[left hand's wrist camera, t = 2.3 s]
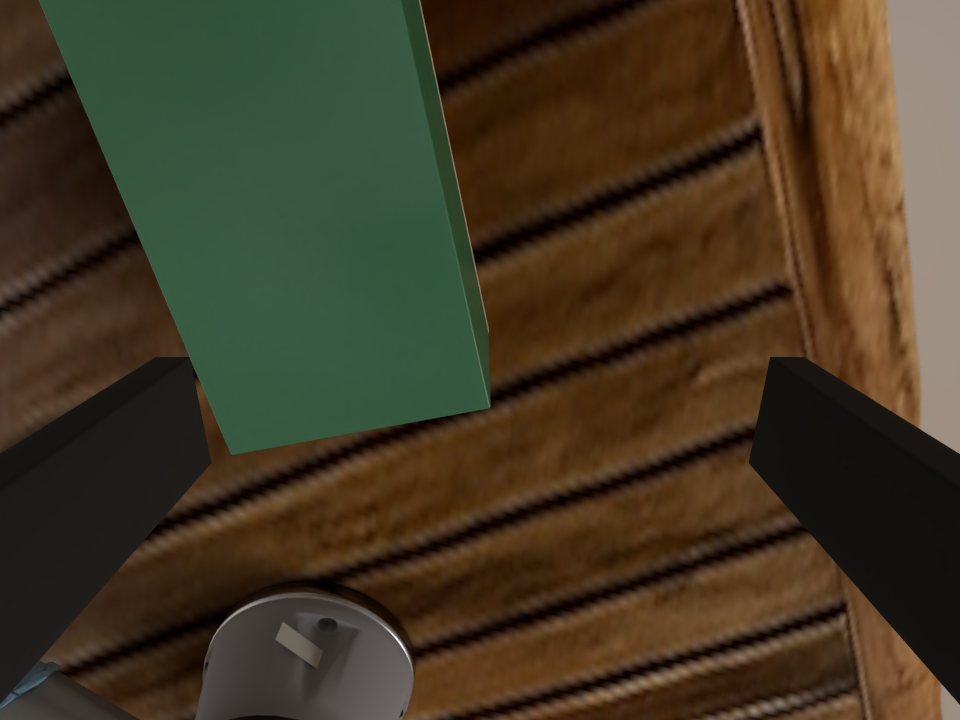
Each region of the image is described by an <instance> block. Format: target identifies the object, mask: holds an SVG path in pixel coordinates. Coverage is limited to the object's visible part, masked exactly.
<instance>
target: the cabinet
mask: <svg viewBox="0 0 960 720" xmlns="http://www.w3.org/2000/svg"><path fill="white" fill-rule="evenodd" d="M39 3H40V5H41V7H42V10H43V12H44V14H45V17H46V19H47V22H48V24H49V26H50V29H51V31H52V33H53V36H54V38H55V40H56V43H57V45H58V48H59V50H60V52H61V55H62V57H63V59H64V62H65V64H66V66H67V69H68V71H69V73H70V76H71V78H72V81H73V83H74V85H75V88H76V90H77V92H78V95H79V97H80V99H81V102H82V104H83V107H84V109H85V111H86V114H87V116H88V118H89V121H90V123H91V125H92V128H93V130H94V132H95V135H96V137H97V140H98V142H99V144H100V147H101V149H102V151H103V154H104V156H105V158H106V161H107V163H108V166H109V168H110V170H111V173H112V175H113V177H114V180H115V182H116V184H117V187H118V189H119V191H120V194H121V196H122V199H123V201H124V203H125V206H126V208H127V210H128V213H129V215H130V217H131V220H132V222H133V224H134V227H135V229H136V232H137V234H138V236H139V239H140V241H141V243H142V246H143V248H144V250H145V253H146V255H147V258H148V260H149V262H150V265H151V267H152V269H153V272H154V274H155V276H156V279H157V281H158V283H159V286H160V288H161V291H162V293H163V295H164V298H165V300H166V302H167V305H168V307H169V309H170V312H171V314H172V317H173V319H174V321H175V324H176V326H177V328H178V331H179V333H180V335H181V338H182V340H183V342H184V345H185V347H186V350H187V352H188V354H189V357H190V359H191V361H192V364H193V366H194V368H195V371H196V373H197V376H198V378H199V380H200V383H201V385H202V387H203V390H204V392H205V394H206V397H207V399H208V401H209V404H210V406H211V409H212V411H213V413H214V416H215V418H216V420H217V423H218V425H219V427H220V430H221V432H222V435H223V437H224V439H225V442H226V444H227V446H228V449H229V451H230V453H231V455H235V454H240V453H246V452H251V451H257V450H262V449H268V448H273V447H279V446H284V445H290V444H295V443H301V442H306V441H312V440H317V439H323V438H328V437H334V436H339V435H345V434H350V433H355V432H361V431H366V430H372V429H377V428H383V427H388V426H394V425H399V424H405V423H410V422H416V421H421V420H427V419H432V418H438V417H443V416H449V415H454V414H460V413H465V412H471V411H476V410H482V409H487V408H490V406H491V405H490V373H489V340H488V333H489V328H488V323H487V319H486V314H485V309H484V304H483V299H482V295H481V290H480V285H479V280H478V276H477V271H476V266H475V261H474V256H473V252H472V247H471V242H470V237H469V232H468V228H467V223H466V218H465V213H464V208H463V204H462V199H461V194H460V189H459V184H458V180H457V175H456V170H455V165H454V160H453V156H452V151H451V146H450V141H449V137H448V132H447V127H446V122H445V117H444V113H443V108H442V103H441V98H440V93H439V89H438V84H437V79H436V74H435V69H434V65H433V60H432V55H431V50H430V45H429V41H428V36H427V31H426V26H425V21H424V17H423V12H422V7H421V2H420V0H39Z"/></svg>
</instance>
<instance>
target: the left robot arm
mask: <svg viewBox="0 0 960 720" xmlns="http://www.w3.org/2000/svg"><path fill="white" fill-rule="evenodd" d="M210 464H211V459H210V454H209V449H208V444H207V440H206V435H205V430H204V425H203V420H202V415H201V410H200V405H199V400H198V395H197V390H196V386H195V381H194V376H193V371H192V366H191V361H190V357H155V358H154V359H152V360H151V361H149V362H147V363H146V364H144V365H143V366H141V367H139V368H138V369H136V370H134V371H133V372H131V373H130V374H128V375H126V376H125V377H123V378H122V379H120V380H118V381H117V382H115V383H114V384H112V385H110V386H109V387H107V388H106V389H104V390H102V391H101V392H99V393H98V394H96V395H94V396H93V397H91V398H90V399H88V400H86V401H85V402H83V403H82V404H80V405H78V406H77V407H75V408H73V409H72V410H70V411H69V412H67V413H65V414H64V415H62V416H61V417H59V418H57V419H56V420H54V421H53V422H51V423H49V424H48V425H46V426H45V427H43V428H41V429H40V430H38V431H37V432H35V433H33V434H32V435H30V436H29V437H27V438H25V439H24V440H22V441H21V442H19V443H17V444H16V445H14V446H12V447H11V448H9V449H8V450H6V451H4V452H3V453H1V454H0V720H140V719H138V718H136V717H134V716H133V715H131V714H129V713H128V712H126V711H124V710H123V709H121V708H119V707H117V706H116V705H114V704H112V703H111V702H109V701H107V700H106V699H104V698H102V697H101V696H99V695H97V694H95V693H94V692H92V691H90V690H89V689H87V688H85V687H84V686H82V685H80V684H79V683H77V682H75V681H73V680H72V679H70V678H68V677H67V676H65V675H63V674H62V673H60V672H58V671H57V670H58V669H59V668H60V666H59V665H57V664H56V663H54V662H48V663H43V662H41V661H39V660H40V658H41V657H42V656H43V655H44V654H45V653H46V652H47V650H48V649H49V648H50V647H51V646H52V645H53V644H54V642H55V641H56V640H57V639H58V638H59V637H60V636H61V634H62V633H63V632H64V631H65V630H66V629H67V628H68V626H69V625H70V624H71V623H72V622H73V621H74V620H75V618H76V617H77V616H78V615H79V614H80V613H81V612H82V610H83V609H84V608H85V607H86V606H87V605H88V604H89V602H90V601H91V600H92V599H93V598H94V597H95V595H96V594H97V593H98V592H99V591H100V590H101V589H102V587H103V586H104V585H105V584H106V583H107V582H108V581H109V579H110V578H111V577H112V576H113V575H114V574H115V573H116V571H117V570H118V569H119V568H120V567H121V566H122V565H123V563H124V562H125V561H126V560H127V559H128V558H129V557H130V555H131V554H132V553H133V552H134V551H135V550H136V549H137V547H138V546H139V545H140V544H141V543H142V542H143V541H144V539H145V538H146V537H147V536H148V535H149V534H150V533H151V531H152V530H153V529H154V528H155V527H156V526H157V525H158V523H159V522H160V521H161V520H162V519H163V518H164V516H165V515H166V514H167V513H168V512H169V511H170V510H171V508H172V507H173V506H174V505H175V504H176V503H177V502H178V500H179V499H180V498H181V497H182V496H183V495H184V494H185V492H186V491H187V490H188V489H189V488H190V487H191V486H192V484H193V483H194V482H195V481H196V480H197V479H198V478H199V476H200V475H201V474H202V473H203V472H204V471H205V470H206V468H207V467H208V466H209V465H210ZM749 464H750V465H751V466H752V467H753V468H754V470H755V471H756V472H757V473H758V474H759V475H760V476H761V478H762V479H763V480H764V481H765V482H766V483H767V484H768V486H769V487H770V488H771V489H772V490H773V491H774V492H775V494H776V495H777V496H778V497H779V498H780V499H781V500H782V502H783V503H784V504H785V505H786V506H787V507H788V508H789V510H790V511H791V512H792V513H793V514H794V515H795V516H796V518H797V519H798V520H799V521H800V522H801V523H802V525H803V526H804V527H805V528H806V529H807V530H808V531H809V533H810V534H811V535H812V536H813V537H814V538H815V539H816V541H817V542H818V543H819V544H820V545H821V546H822V547H823V549H824V550H825V551H826V552H827V553H828V554H829V555H830V557H831V558H832V559H833V560H834V561H835V562H836V563H837V565H838V566H839V567H840V568H841V569H842V570H843V571H844V573H845V574H846V575H847V576H848V577H849V578H850V579H851V581H852V582H853V583H854V584H855V585H856V586H857V587H858V589H859V590H860V591H861V592H862V593H863V594H864V596H865V597H866V598H867V599H868V600H869V601H870V602H871V604H872V605H873V606H874V607H875V608H876V609H877V610H878V612H879V613H880V614H881V615H882V616H883V617H884V618H885V620H886V621H887V622H888V623H889V624H890V625H891V626H892V628H893V629H894V630H895V631H896V632H897V633H898V634H899V636H900V637H901V638H902V639H903V640H904V641H905V642H906V644H907V645H908V646H909V647H910V648H911V649H912V650H913V652H914V653H915V654H916V655H917V656H918V657H919V658H920V660H921V661H922V662H923V663H924V664H925V665H926V666H927V668H928V669H929V670H930V671H931V672H932V673H933V675H934V676H935V677H936V678H937V679H938V680H939V681H940V683H941V684H942V685H943V686H944V687H945V688H946V689H947V691H948V692H949V693H950V694H951V695H952V696H953V697H954V698H955V700H956V701H957V702H958V703H959V704H960V454H959V453H957V452H955V451H954V450H952V449H951V448H949V447H948V446H946V445H944V444H943V443H941V442H939V441H938V440H936V439H935V438H933V437H931V436H930V435H928V434H927V433H925V432H923V431H922V430H920V429H919V428H917V427H915V426H914V425H912V424H911V423H909V422H907V421H906V420H904V419H903V418H901V417H899V416H898V415H896V414H895V413H893V412H891V411H890V410H888V409H887V408H885V407H883V406H882V405H880V404H878V403H877V402H875V401H874V400H872V399H870V398H869V397H867V396H866V395H864V394H862V393H861V392H859V391H858V390H856V389H854V388H853V387H851V386H850V385H848V384H846V383H845V382H843V381H842V380H840V379H838V378H837V377H835V376H834V375H832V374H830V373H829V372H827V371H826V370H824V369H822V368H821V367H819V366H817V365H816V364H814V363H813V362H811V361H809V360H808V359H806V358H805V357H770V361H769V366H768V371H767V376H766V381H765V386H764V390H763V395H762V400H761V405H760V410H759V415H758V420H757V425H756V430H755V435H754V440H753V444H752V449H751V454H750V459H749ZM415 667H416V661H415V653H414V649H413V646H412V643H411V641H410V639H409V636H408V635H407V633H406V631H405V630H404V628H403V627H402V626H401V624H400V623H399V622H398V621H397V620H396V619H395V618H394V617H393V616H392V615H391V614H390V613H389V612H388V611H387V610H386V609H384V608H383V607H382V606H380V605H379V604H377V603H376V602H374V601H372V600H371V599H369V598H367V597H365V596H363V595H361V594H359V593H356V592H354V591H351V590H348V589H345V588H342V587H338V586H333V585H329V584H322V583H311V582H297V583H286V584H280V585H276V586H272V587H268V588H265V589H262V590H259V591H257V592H255V593H253V594H251V595H249V596H247V597H246V598H244V599H243V600H241V601H240V602H239V603H237V604H236V605H235V606H234V607H233V608H232V609H231V610H230V611H229V612H228V613H227V615H226V616H225V617H224V619H223V621H222V622H221V624H220V626H219V628H218V629H217V631H216V633H215V635H214V637H213V639H212V641H211V643H210V645H209V649H208V652H207V655H206V658H205V662H204V669H203V687H202V691H201V695H200V700H199V705H198V709H197V713H196V718H195V720H402V718H403V716H404V714H405V712H406V710H407V707H408V704H409V701H410V698H411V695H412V690H413V684H414V677H415Z"/></svg>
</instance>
